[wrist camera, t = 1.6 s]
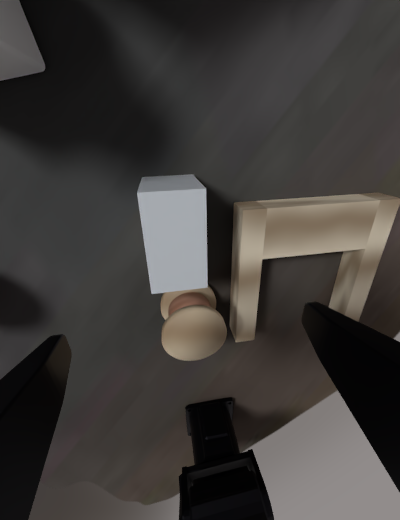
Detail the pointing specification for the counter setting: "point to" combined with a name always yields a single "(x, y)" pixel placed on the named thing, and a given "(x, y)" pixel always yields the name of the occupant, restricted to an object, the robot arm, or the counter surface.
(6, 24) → the medicine bottle
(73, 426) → the counter surface
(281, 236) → the notched board
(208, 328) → the wooden spool
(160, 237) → the tall pale grey block
